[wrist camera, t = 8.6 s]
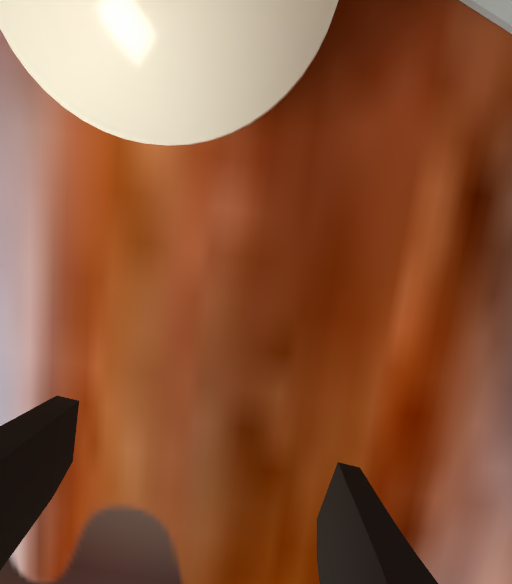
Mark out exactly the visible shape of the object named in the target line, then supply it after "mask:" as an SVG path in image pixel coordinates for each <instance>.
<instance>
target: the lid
mask: <svg viewBox="0 0 512 584" xmlns="http://www.w3.org/2000/svg"><path fill="white" fill-rule="evenodd" d="M338 1H339V0H0V30H1V31H2V33H3V35H4V37H5V38H6V40H7V42H8V44H9V45H10V47H11V49H12V51H13V52H14V53H15V55H16V56H17V57H18V59H19V60H20V62H21V63H22V64H23V66H24V67H25V69H26V70H27V71H28V73H29V74H30V75H31V76H32V77H33V78H34V79H35V80H36V81H37V83H38V84H39V85H40V86H41V87H42V88H43V89H44V90H45V91H46V92H47V93H48V94H49V95H50V96H51V97H53V98H54V99H55V100H56V101H57V102H58V103H59V104H60V105H62V106H63V107H64V108H66V109H67V110H68V111H70V112H71V113H73V114H74V115H76V116H77V117H78V118H80V119H81V120H83V121H85V122H87V123H89V124H91V125H92V126H94V127H96V128H98V129H100V130H102V131H104V132H107V133H110V134H112V135H115V136H118V137H120V138H123V139H127V140H132V141H136V142H141V143H145V144H157V145H169V146H178V145H194V144H199V143H204V142H209V141H214V140H216V139H219V138H222V137H225V136H228V135H231V134H233V133H235V132H237V131H239V130H241V129H243V128H245V127H247V126H249V125H251V124H252V123H254V122H255V121H257V120H258V119H259V118H261V117H262V116H264V115H265V114H267V113H268V112H269V111H271V110H272V109H273V108H274V107H275V106H276V105H277V104H278V103H279V102H280V101H281V100H283V99H284V98H285V97H286V96H287V95H288V93H289V92H290V91H291V90H292V89H293V88H294V86H295V85H296V84H297V83H298V82H299V80H300V79H301V78H302V77H303V75H304V74H305V72H306V70H307V69H308V67H309V66H310V64H311V63H312V61H313V60H314V58H315V57H316V54H317V52H318V50H319V48H320V46H321V44H322V42H323V40H324V38H325V36H326V34H327V32H328V29H329V26H330V23H331V21H332V18H333V15H334V12H335V9H336V7H337V4H338Z"/></svg>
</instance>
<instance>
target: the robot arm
mask: <svg viewBox="0 0 512 584" xmlns="http://www.w3.org/2000/svg"><path fill="white" fill-rule="evenodd" d="M78 406H79V401H77V400H73V399H69V398H65V397H60V396H56V397H54V398H52V399H50V400H48V401H46V402H44V403H42V404H40V405H39V406H37V407H35V408H33V409H31V410H30V411H28V412H26V413H24V414H22V415H20V416H18V417H17V418H15V419H13V420H11V421H9V422H7V423H5V424H4V425H2V426H0V570H1V569H2V567H3V566H4V565H5V563H6V562H7V560H8V559H9V558H10V556H11V555H12V553H13V552H14V551H15V549H16V548H17V546H18V545H19V544H20V542H21V541H22V539H23V538H24V537H25V535H26V534H27V533H28V531H29V530H30V528H31V527H32V526H33V524H34V523H35V521H36V520H37V519H38V517H39V516H40V514H41V513H42V511H43V510H44V509H45V507H46V506H47V504H48V503H49V502H50V500H51V499H52V497H53V496H54V494H55V492H56V490H57V488H58V487H59V485H60V483H61V481H62V480H63V478H64V476H65V474H66V472H67V470H68V469H69V467H70V465H71V463H72V461H73V452H74V443H75V434H76V425H77V415H78ZM317 563H318V572H319V581H320V584H438V583H437V581H436V580H435V579H434V578H433V576H432V575H431V573H430V572H429V571H428V569H427V568H426V567H425V565H424V564H423V563H422V561H421V560H420V559H419V557H418V556H417V555H416V553H415V552H414V550H413V549H412V547H411V546H410V545H409V543H408V542H407V540H406V539H405V537H404V536H403V534H402V533H401V532H400V530H399V529H398V527H397V526H396V524H395V523H394V521H393V519H392V518H391V516H390V515H389V513H388V512H387V510H386V509H385V507H384V505H383V504H382V502H381V501H380V499H379V498H378V496H377V494H376V493H375V491H374V490H373V488H372V486H371V485H370V483H369V482H368V480H367V478H366V477H365V475H364V474H363V472H362V471H361V469H360V468H359V467H355V466H351V465H346V464H342V463H337V466H336V469H335V471H334V474H333V477H332V480H331V482H330V485H329V488H328V490H327V493H326V496H325V499H324V501H323V504H322V507H321V509H320V512H319V515H318V518H317Z"/></svg>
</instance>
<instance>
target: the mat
mask: <svg viewBox="0 0 512 584" xmlns="http://www.w3.org/2000/svg"><path fill="white" fill-rule="evenodd" d="M459 1H461V2H462V3H464V4H466V5H467V6H469V7H470V8H472V9H473V10H475V11H477V12H478V13H480V14H481V15H483V16H484V17H486V18H487V19H489V20H491V21H492V22H494V23H495V24H497V25H498V26H500V27H502V28H503V29H505V30H506V31H508V32H509V33H511V34H512V0H459Z"/></svg>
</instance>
